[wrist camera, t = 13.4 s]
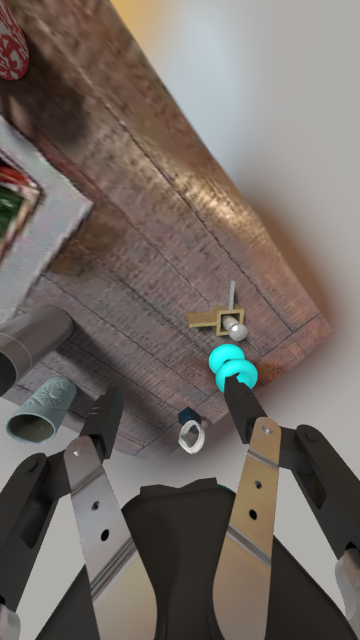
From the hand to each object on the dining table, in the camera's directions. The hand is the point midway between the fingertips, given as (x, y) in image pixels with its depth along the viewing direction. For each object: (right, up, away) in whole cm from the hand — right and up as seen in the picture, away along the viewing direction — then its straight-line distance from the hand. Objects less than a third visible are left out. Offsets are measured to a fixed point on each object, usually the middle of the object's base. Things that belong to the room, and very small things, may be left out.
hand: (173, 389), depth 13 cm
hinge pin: (+11, +7, +31) cm, 33 cm away
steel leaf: (+11, +10, +29) cm, 33 cm away
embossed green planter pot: (-33, -14, +36) cm, 51 cm away
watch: (+3, -26, +43) cm, 50 cm away
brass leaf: (+8, +7, +30) cm, 32 cm away
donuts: (+13, -5, +36) cm, 39 cm away
